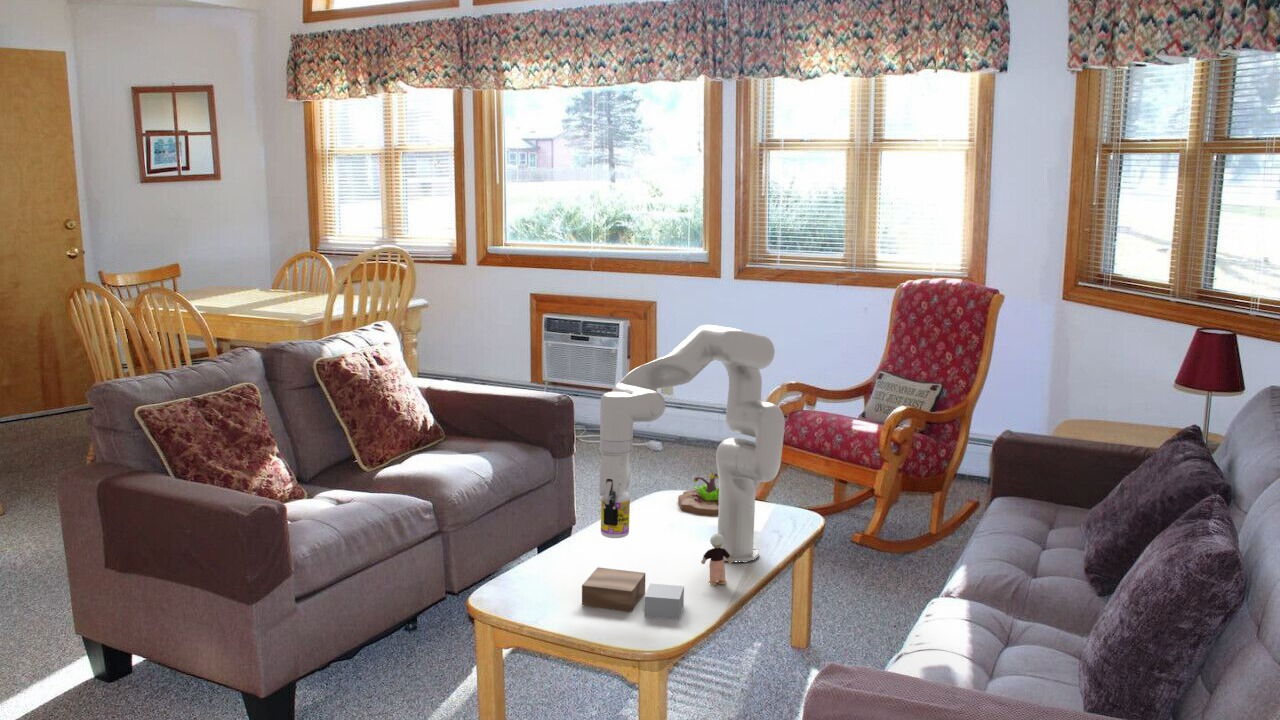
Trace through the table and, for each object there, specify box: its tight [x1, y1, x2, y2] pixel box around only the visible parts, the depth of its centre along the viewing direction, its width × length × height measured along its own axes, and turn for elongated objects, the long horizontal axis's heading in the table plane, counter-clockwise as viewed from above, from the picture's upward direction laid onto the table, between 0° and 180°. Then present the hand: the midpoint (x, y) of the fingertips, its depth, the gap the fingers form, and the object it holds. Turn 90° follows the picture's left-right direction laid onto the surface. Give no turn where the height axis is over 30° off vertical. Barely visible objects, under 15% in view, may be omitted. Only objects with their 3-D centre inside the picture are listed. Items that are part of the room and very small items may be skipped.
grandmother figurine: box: [700, 533, 733, 586], centre depth 260 cm, size 8×4×13 cm, turn 111°
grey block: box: [643, 583, 685, 620], centre depth 244 cm, size 8×8×5 cm
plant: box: [677, 471, 719, 517], centre depth 322 cm, size 20×20×11 cm
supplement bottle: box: [600, 483, 631, 539], centre depth 247 cm, size 7×7×13 cm
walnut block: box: [581, 567, 646, 613], centre depth 250 cm, size 12×12×5 cm
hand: (615, 519), depth 248 cm, fingers closed on supplement bottle, 6 cm apart
